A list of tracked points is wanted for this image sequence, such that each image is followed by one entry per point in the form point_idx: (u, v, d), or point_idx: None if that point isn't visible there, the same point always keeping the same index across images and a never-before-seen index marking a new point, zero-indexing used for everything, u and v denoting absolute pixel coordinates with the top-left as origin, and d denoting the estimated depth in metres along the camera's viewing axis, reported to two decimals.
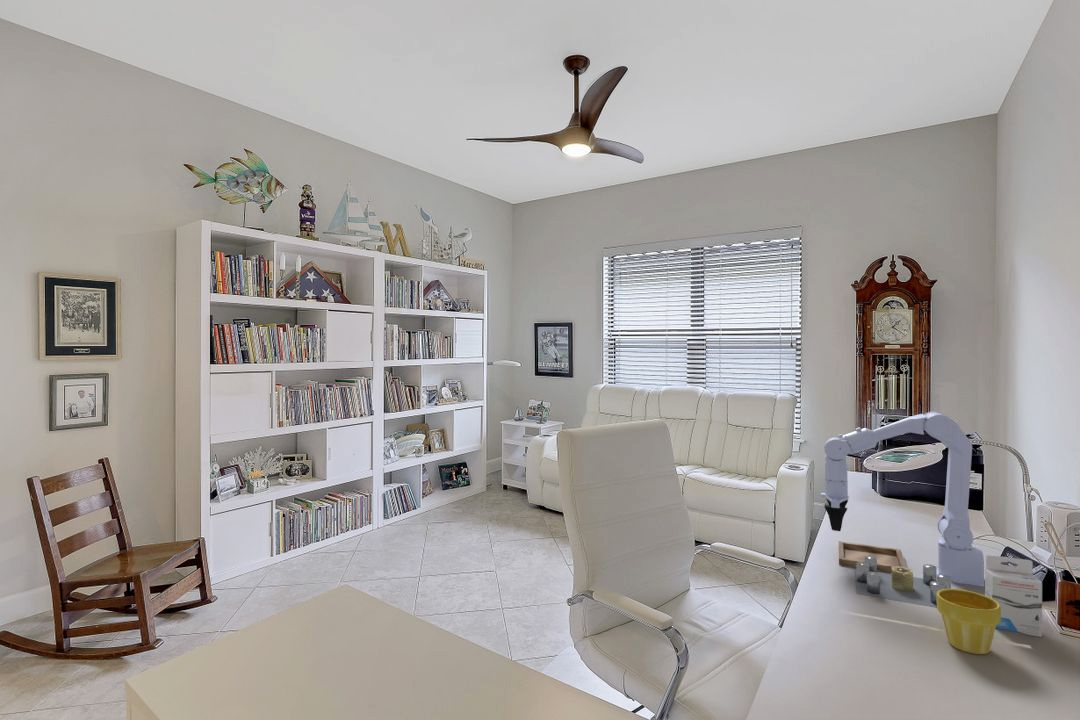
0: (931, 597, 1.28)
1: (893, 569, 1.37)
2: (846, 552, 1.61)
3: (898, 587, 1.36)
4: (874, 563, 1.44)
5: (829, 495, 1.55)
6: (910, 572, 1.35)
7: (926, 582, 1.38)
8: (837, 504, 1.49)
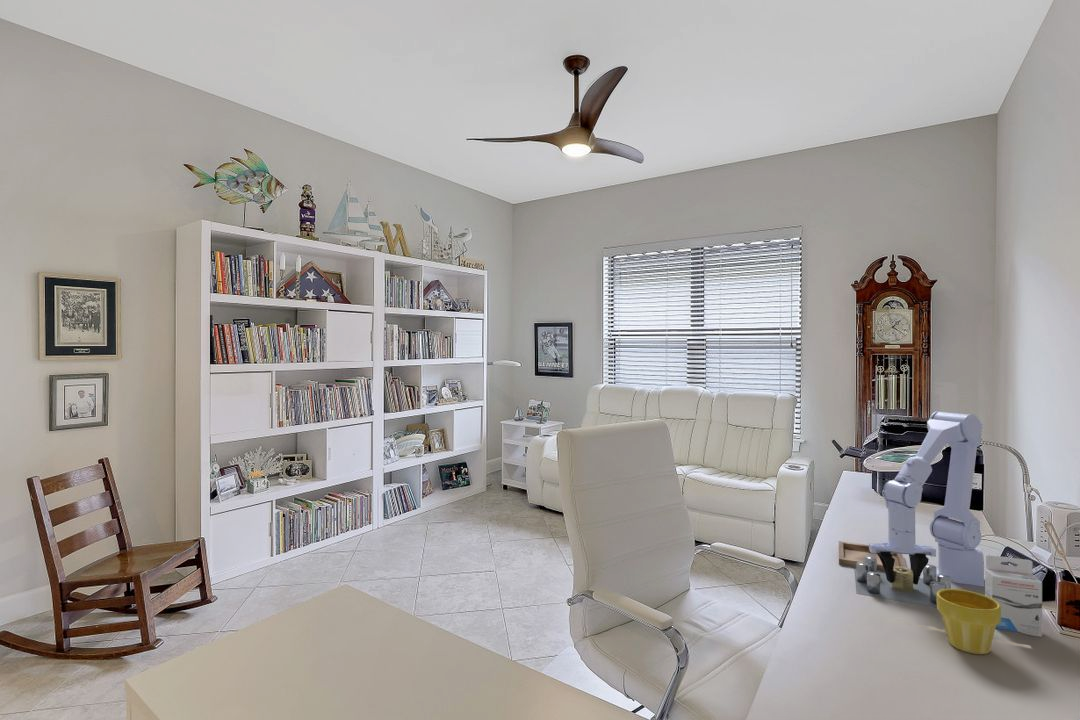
0: (931, 597, 1.28)
1: (893, 569, 1.37)
2: (846, 552, 1.61)
3: (898, 587, 1.36)
4: (874, 563, 1.44)
5: (888, 542, 1.39)
6: (910, 572, 1.35)
7: (926, 582, 1.38)
8: (871, 548, 1.38)
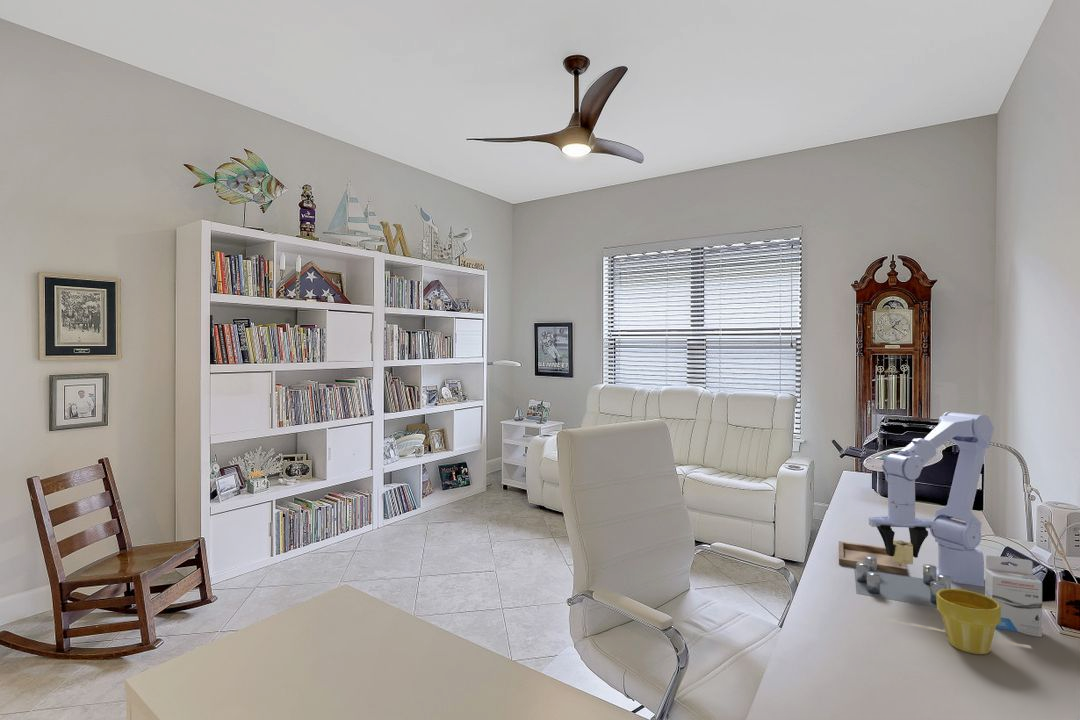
0: (931, 597, 1.28)
1: (893, 542, 1.37)
2: (846, 552, 1.61)
3: (898, 560, 1.36)
4: (874, 563, 1.44)
5: (888, 516, 1.39)
6: (910, 545, 1.35)
7: (926, 582, 1.38)
8: (871, 522, 1.38)
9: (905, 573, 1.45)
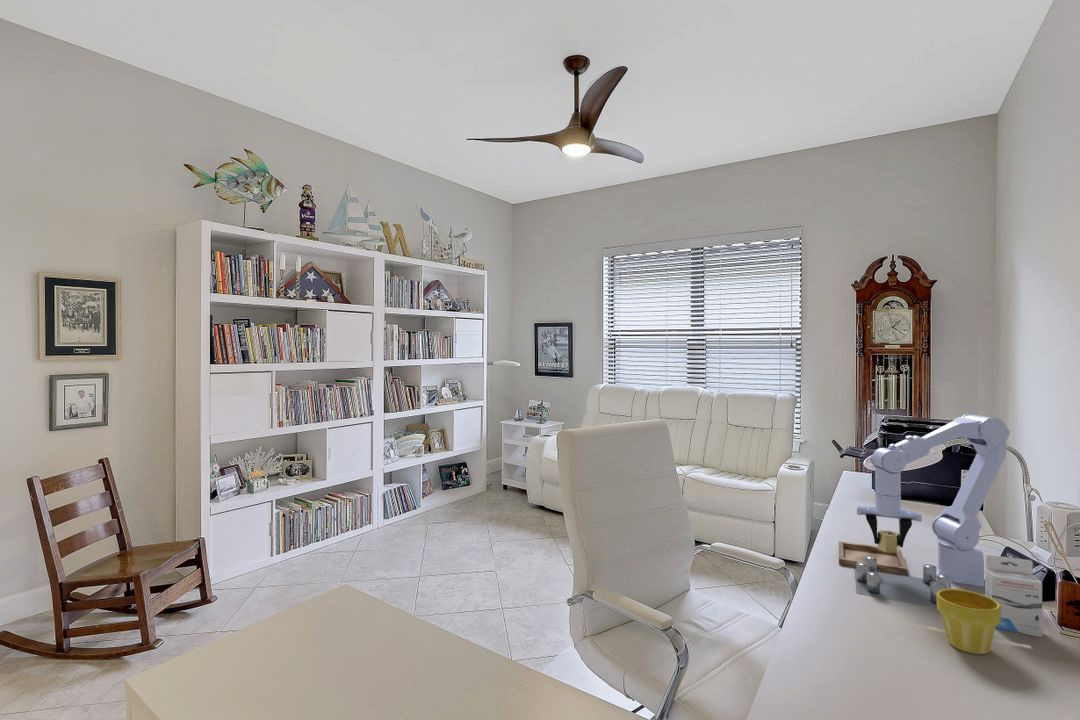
0: (931, 597, 1.28)
1: (879, 531, 1.45)
2: (846, 552, 1.61)
3: (882, 548, 1.43)
4: (874, 563, 1.44)
5: None
6: (894, 535, 1.42)
7: (926, 582, 1.38)
8: None
9: (905, 573, 1.45)
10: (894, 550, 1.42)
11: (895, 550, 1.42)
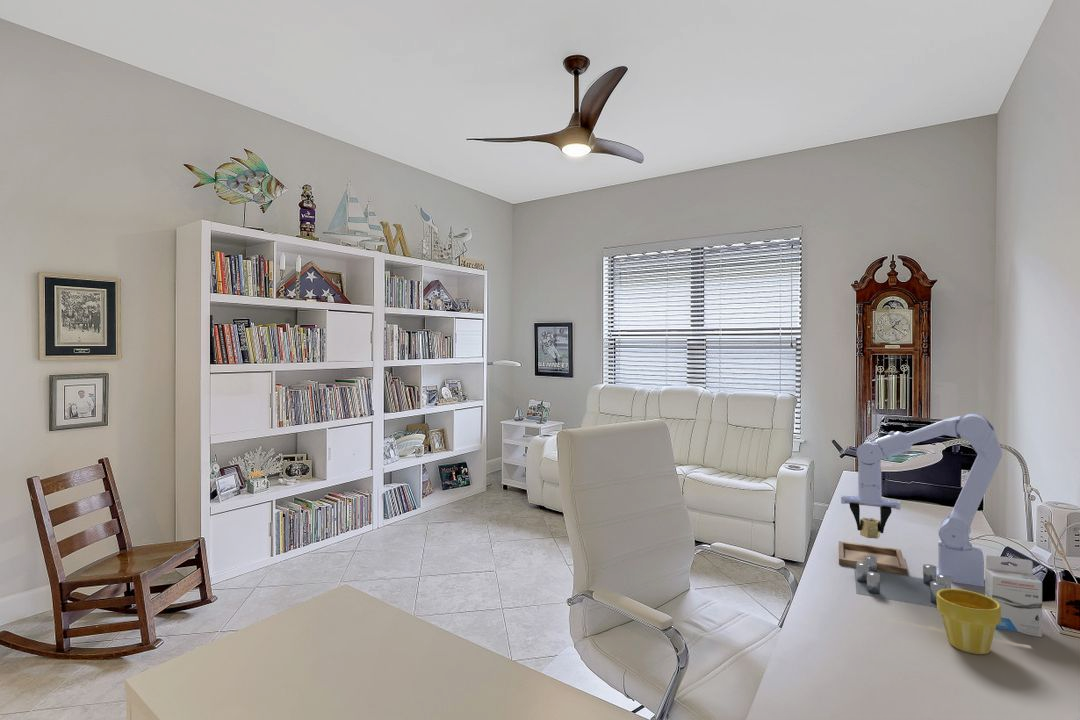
0: (931, 597, 1.28)
1: (862, 519, 1.56)
2: (846, 552, 1.61)
3: (864, 534, 1.55)
4: (874, 563, 1.44)
5: None
6: (875, 522, 1.54)
7: (926, 582, 1.38)
8: (841, 499, 1.58)
9: (905, 573, 1.45)
10: (875, 536, 1.53)
11: (876, 536, 1.53)
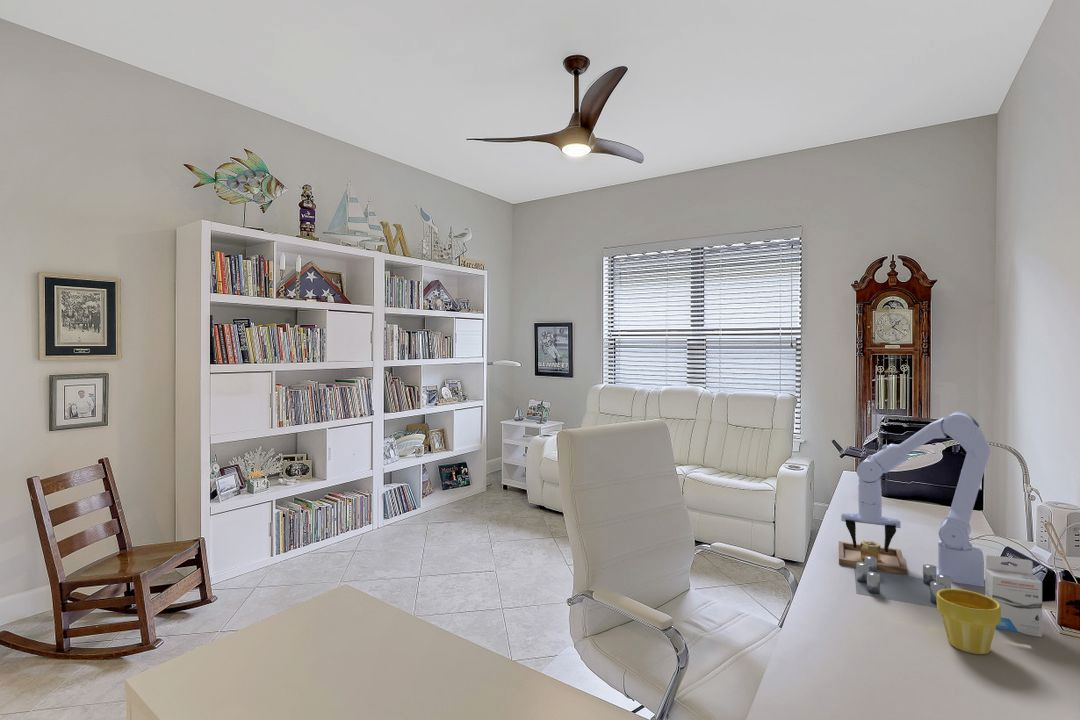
0: (931, 597, 1.28)
1: (862, 542, 1.56)
2: (846, 552, 1.61)
3: (864, 558, 1.55)
4: (874, 563, 1.44)
5: None
6: (876, 545, 1.54)
7: (926, 582, 1.38)
8: (841, 517, 1.58)
9: (905, 573, 1.45)
10: None
11: None
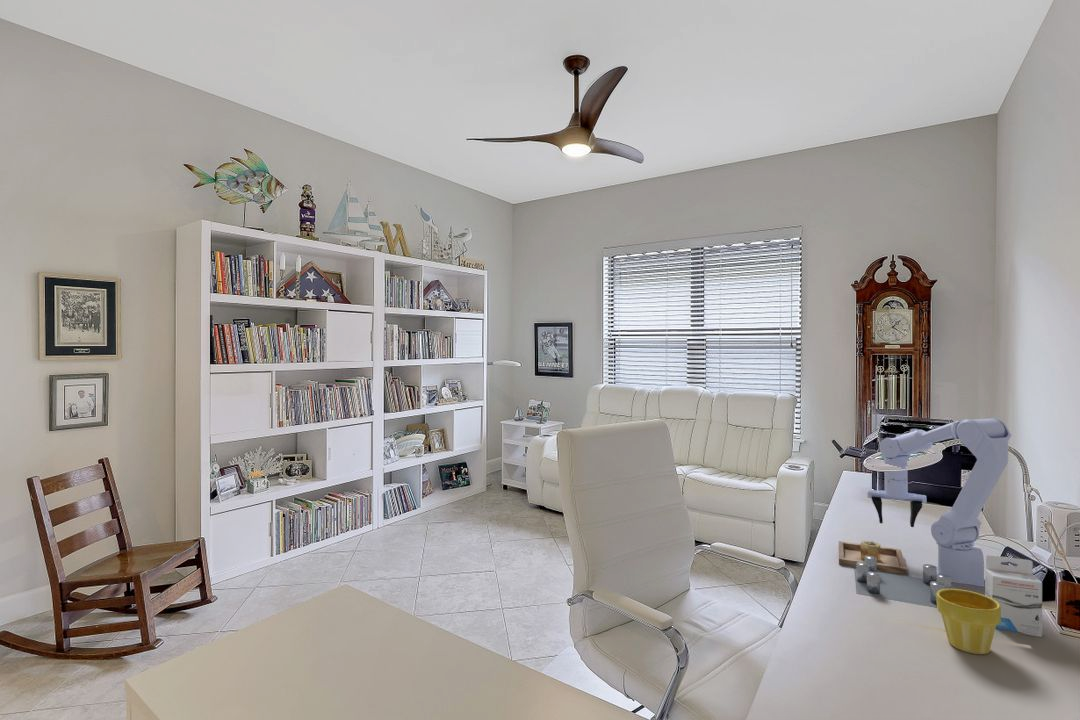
0: (931, 597, 1.28)
1: (862, 542, 1.56)
2: (846, 552, 1.61)
3: (864, 558, 1.55)
4: (874, 563, 1.44)
5: None
6: (876, 545, 1.54)
7: (926, 582, 1.38)
8: (867, 493, 1.62)
9: (905, 573, 1.45)
10: None
11: None
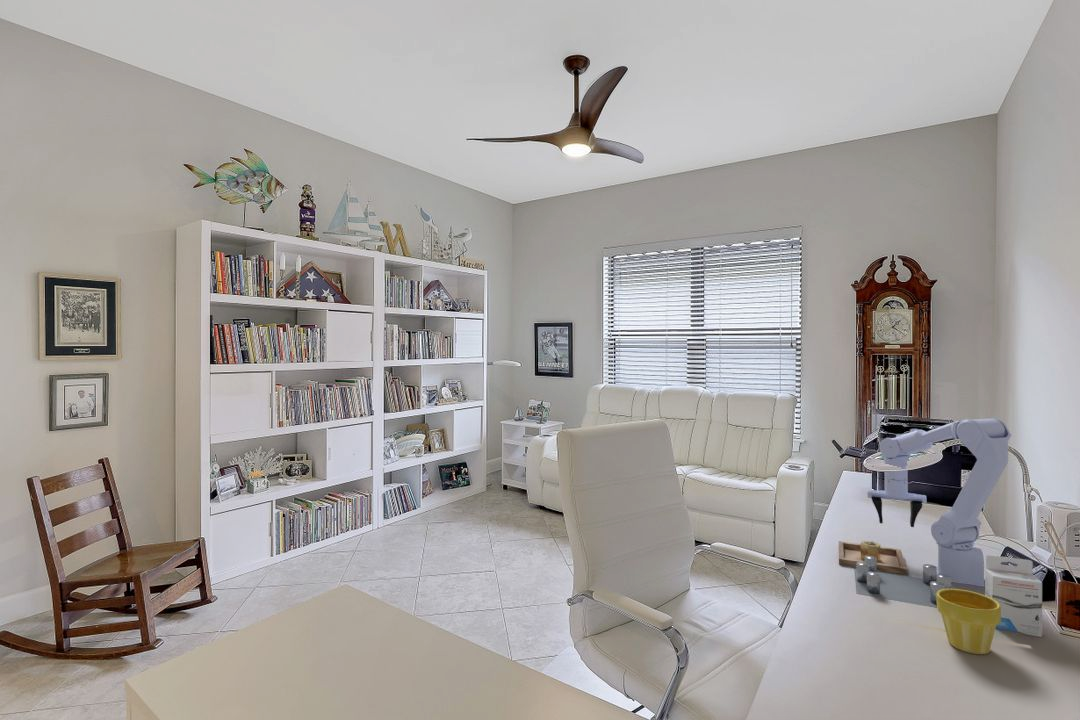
0: (931, 597, 1.28)
1: (862, 542, 1.56)
2: (846, 552, 1.61)
3: (864, 558, 1.55)
4: (874, 563, 1.44)
5: None
6: (876, 545, 1.54)
7: (926, 582, 1.38)
8: (867, 493, 1.62)
9: (905, 573, 1.45)
10: None
11: None
